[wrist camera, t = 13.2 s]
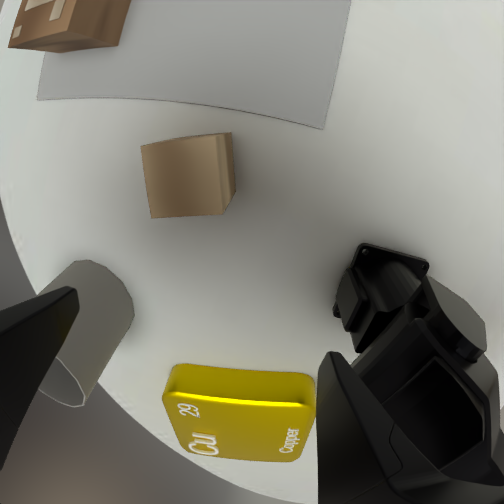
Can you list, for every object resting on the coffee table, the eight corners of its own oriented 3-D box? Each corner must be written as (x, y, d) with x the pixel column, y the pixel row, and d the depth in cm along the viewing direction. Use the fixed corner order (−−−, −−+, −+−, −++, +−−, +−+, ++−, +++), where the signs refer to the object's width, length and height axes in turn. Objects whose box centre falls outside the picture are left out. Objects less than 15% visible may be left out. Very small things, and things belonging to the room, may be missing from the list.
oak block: (231, 132, 17) (215, 136, 13) (235, 191, 19) (222, 214, 15) (172, 138, 18) (140, 146, 13) (179, 194, 20) (151, 218, 15)
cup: (71, 243, 22) (-2, 304, 13) (145, 291, 23) (90, 377, 14) (60, 303, 26) (7, 364, 17) (122, 345, 27) (81, 418, 18)
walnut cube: (32, -26, 6) (78, -9, 12) (6, 47, 9) (59, 53, 14) (97, -52, 6) (138, -21, 12) (66, 30, 9) (118, 46, 15)
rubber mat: (356, -37, 11) (357, -38, 10) (321, 129, 17) (322, 129, 17) (77, -37, 10) (75, -38, 10) (38, 100, 16) (36, 100, 16)
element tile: (298, 437, 33) (298, 466, 29) (189, 427, 34) (182, 455, 30) (317, 369, 26) (321, 408, 22) (169, 357, 27) (155, 393, 23)
